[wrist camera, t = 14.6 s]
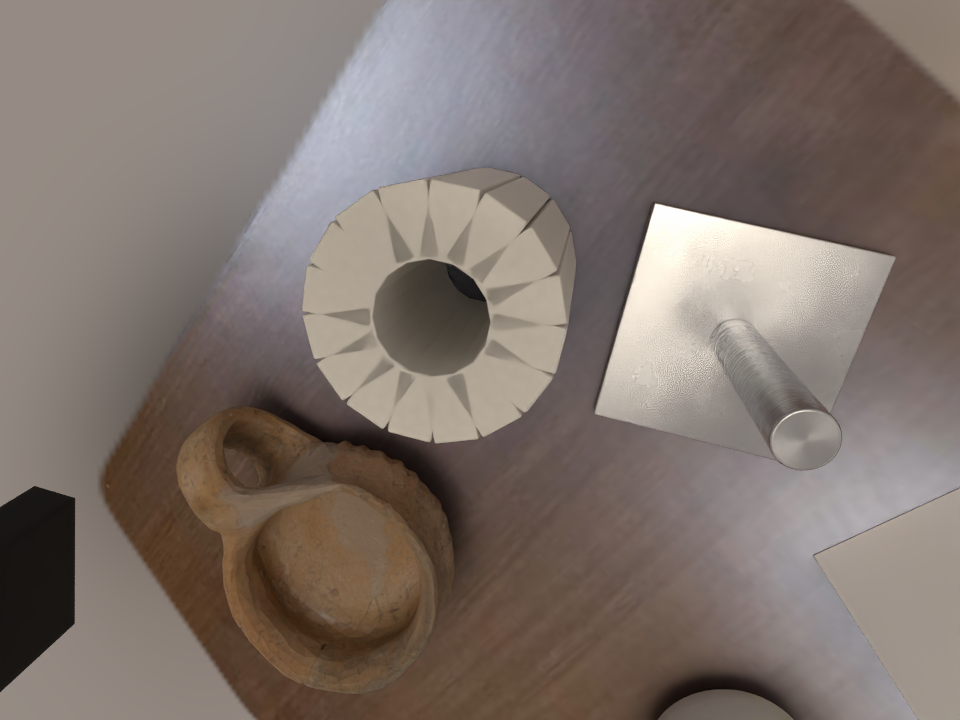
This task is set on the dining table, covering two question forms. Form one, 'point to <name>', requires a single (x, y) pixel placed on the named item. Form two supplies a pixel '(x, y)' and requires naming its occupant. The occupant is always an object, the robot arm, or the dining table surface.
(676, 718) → the teacup
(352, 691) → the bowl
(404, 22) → the dining table surface
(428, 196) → the paper towel roll
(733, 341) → the towel stand
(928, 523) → the milk
